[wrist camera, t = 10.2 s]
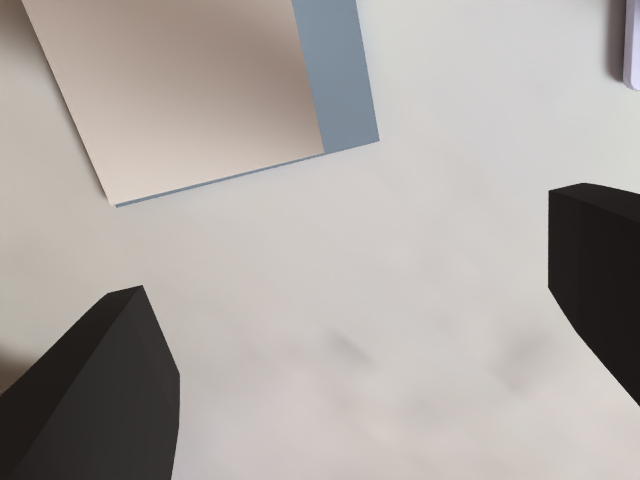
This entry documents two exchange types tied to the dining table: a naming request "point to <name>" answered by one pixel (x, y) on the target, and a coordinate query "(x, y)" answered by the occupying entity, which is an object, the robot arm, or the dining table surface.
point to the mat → (329, 79)
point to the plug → (179, 88)
